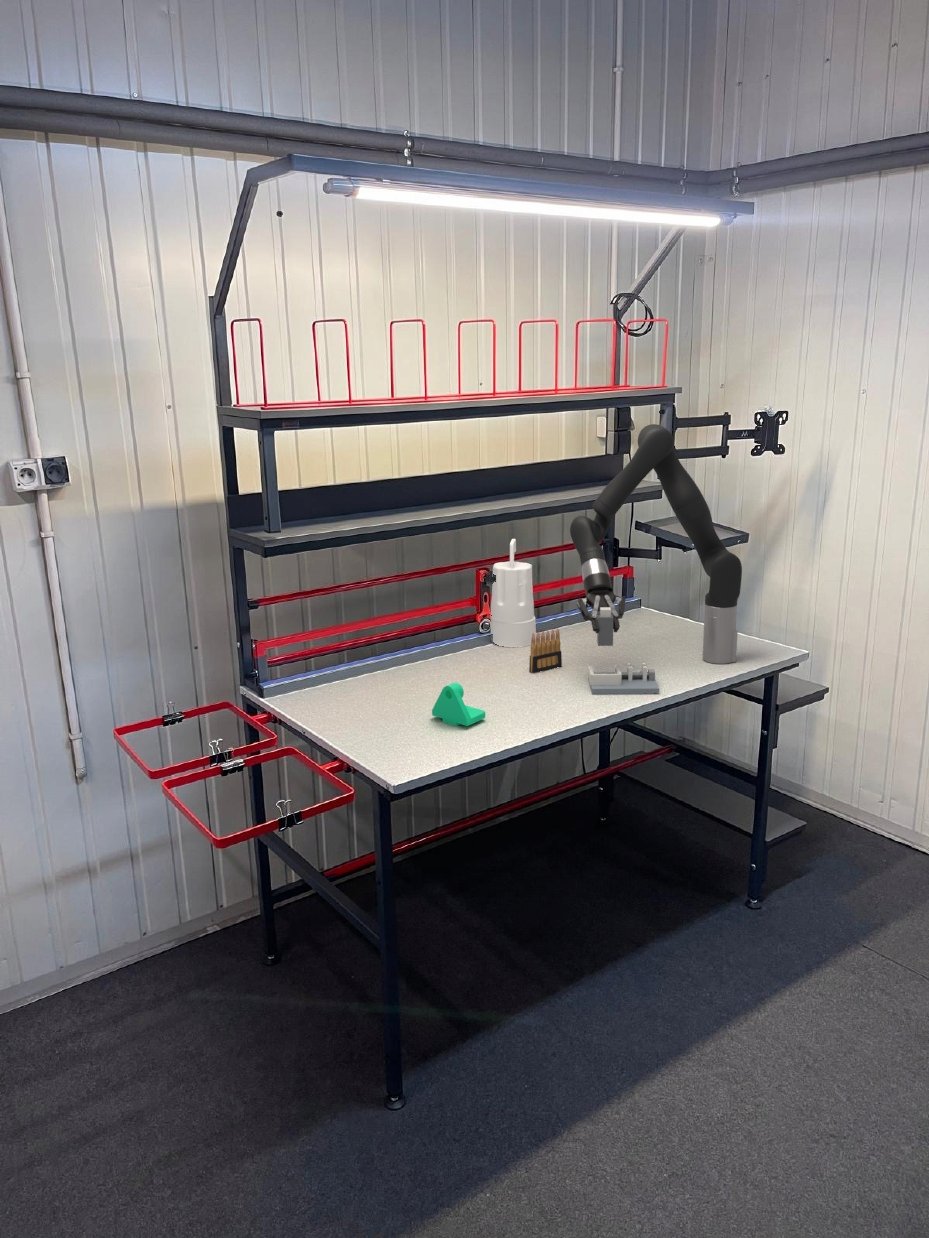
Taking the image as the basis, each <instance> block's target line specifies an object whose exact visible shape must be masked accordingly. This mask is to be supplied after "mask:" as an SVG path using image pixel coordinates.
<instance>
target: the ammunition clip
mask: <svg viewBox="0 0 929 1238" xmlns="http://www.w3.org/2000/svg"><path fill="white" fill-rule="evenodd" d="M545 634H546V635H545ZM560 635H561V634H560V629H559V628H558V627H557V628H556V631H555V629H554V628H552V629H551V632H550V631H549V630H546V633H545V632H544V631H543V630H542V631H541V635H540V632H539V631H537V632H536V642H535V635H534V633H533V634H532V638H531V645H530V654H529V670H528V672H529V673H531V674H537V673H541V672H540V671H542V672H546V671H550V670H549V669H551V670H554V668H555V669H558V668H557V667H559V668H562V667H563V662H562V661H563V658H562V650H561V637H560Z"/></svg>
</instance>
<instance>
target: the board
mask: <svg viewBox="0 0 929 1238" xmlns="http://www.w3.org/2000/svg"><path fill="white" fill-rule="evenodd" d="M626 665H627V667H626V672H625V671H624V672H623V671H621V669H620V665H615V666H614V667H615V668H614V670H615V671H614V672H613V671H612V672H609V671H608V672H607V671H606V672H598V671H597V672H594V668H593V666H592V665H588V673H587V675H588V682H589V687H590V691H591V695H644V694H643V693H646V694H645V695H655V694H654V693H659V694H660V687H659V685H658V683H657V680H656V672H655V669H654V668H648V667H647V664H646V662H642V663H641V671H633V666H632V663H630V662H629V663H627V664H626ZM636 693H637V694H636ZM647 693H648V694H647Z"/></svg>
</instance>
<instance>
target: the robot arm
mask: <svg viewBox="0 0 929 1238" xmlns="http://www.w3.org/2000/svg"><path fill="white" fill-rule="evenodd" d="M637 436H638V437H637V447H638V448H637V449H636V451H635V453H634V454H633V456H632V458H631V459H630V461H628V463H627V465H625V467H624V468H623V469H622V470H621V471H620V472H618V473H617V474H616V476H615V477H613V478H612V480H610V481H609V482H608V483H607V485H606V486H605V487H604V489H603V490H602V491H601V492H600V493H599V495H598V497H597V498H596V499H595V500H594V501H593V503H592V509H593V511H594V512H595V513H596V514H595V517H594V519H592V518H589V517H588V516H586V515H578V516H576V517H574V519H573V520H572V522H571V523H570V526H569V533H570V539H571V540H572V542H573V545H574V548H575V549H576V551H577V553H578V555H579V562H580V565H581V575H582V578H581V579H582V581H583V586H584V591H585V598H582V597H581V598H580V597H579V598H578V599H577V602H576V606H577V608H578V610H579V612H580V614H581V616H582V618H583V620H584V621H590V622H591V627H592V631H593V632H595V634H597V633H599V631H600V628H599V624H598V618H597V614H598V613H599V612H600V607H610V608H611V614H612V615H613V633H617V632H618V631H619V629H620V628H621V627H620V626H621V625H620V620H619V619H623V616H624V614H625V607H626V597H625V596H623V595H622V596H621V597H619V596H616V594H615V593H614V591H613V585H612V579H611V574H610V572H609V567H608V565H607V562H606V556H605V552H604V548H603V547H602V546H601V544H600V543H601V542H602V541H603V540H604V538H605V537H606V535H607V533H608V531H609V528H610V525H611V524H612V520H613V518H614V516H616V514H617V513H618V512H619V510H620V509H621V508H622V507H623V505H624V504H625V503H626V501H627V500H628V498H629V497H630V496H631V494H633V492H634V491H635V490H636V488H637V487H638V486H639V484H641V482H642V481H643V480H644V479H645V478H646V477H647V476H648V475H649V474H650V472H652V470H654V472H655V475H656V476H657V478H658V479H659V482H660V484H661V487H662V490H663V493H664V494H665V497H666V499H667V501H668V503H669V506H670V507H671V509H672V511H673V512H674V515H675V516H676V518H677V521H678V522H679V523H680V525H681V526H682V528H683V530H684V532H685V533H686V535H687V536H688V538H689V539H690V540H691V542H692V544H693V545H694V548H695V550H696V552H697V555H698V557H699V561H700V563H701V565H702V568H703V570H704V572H705V573H706V575H707V576H708V577H709V588H708V592H707V593H706V594H705V597H704V613H703V615H704V616H703V636H702V641H703V642H702V660H703V661H705V662H706V663H710V664H717V665H719V664H721V665H722V664H723V665H724V664H731V663H736V662H737V650H738V649H737V648H738V630H737V613H738V612H737V610H738V600H739V597H740V595H741V589H742V576H743V574H742V573H743V567H742V566H743V565H742V561H741V559H740V558H739V557H738V556H737V555H736V554H735V553H732V552H730V551H729V550H728V549H727V548H726V546H725V545H724V543H723V542H722V540H721V539H720V537H719V536H718V534H717V532H716V530H715V526H714V524H713V523H714V522H713V517H712V513H711V510H710V508H709V505H708V502H707V500H706V499H705V497H704V495H703V493H702V491H701V489H700V488H699V486H698V484H696V482H695V480H694V479H693V478H692V476H691V475H690V474H689V473H688V471H687V470H686V469H685V467H684V466H683V464H682V463H681V461H680V460H679V457H678V455H677V453H676V450H675V449H674V436H673V434H672V433H671V431H670V430H668V429H667V428H666V427H664V426H662V425H661V424H655V423H652V424H647V425H645V426H644V427H642V429H641V430H640V431H639V433H638V435H637ZM615 602H616V604H617V606H618V612H617V611H616V607H615V605H614V603H615ZM586 605H588V606H589V607H590V608H592V609H591V613H590V611H589V610H588V607H587V606H586Z"/></svg>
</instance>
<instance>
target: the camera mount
mask: <svg viewBox="0 0 929 1238" xmlns="http://www.w3.org/2000/svg"><path fill="white" fill-rule="evenodd" d="M464 692H465V691H464V688H463V686H462V685H461V683H459V682H453V683H450V684H448V685H445V686H444V687H443V688H442V690H441V691H440V693H439V696H438V697H437V699H436V701H435V703H434V705H433V707H432V709H431V716H433V717H436V718H439V719H442V723H445V722H446V723H445V724H448V723H449V725H451V724H452V725H453V726H454V725H455V727H458V726H460V725H463V726H466V727H468V726H471V725H473V724H475V723H477V722H480V721H482V720H484V719H486V711H485V710H483V709H480V708H477V707H474V706H473V707H472V706H469V705H466V704H465V702H464V700H463V697H464V694H465V693H464Z"/></svg>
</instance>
